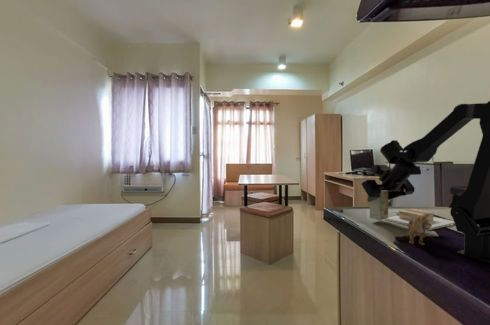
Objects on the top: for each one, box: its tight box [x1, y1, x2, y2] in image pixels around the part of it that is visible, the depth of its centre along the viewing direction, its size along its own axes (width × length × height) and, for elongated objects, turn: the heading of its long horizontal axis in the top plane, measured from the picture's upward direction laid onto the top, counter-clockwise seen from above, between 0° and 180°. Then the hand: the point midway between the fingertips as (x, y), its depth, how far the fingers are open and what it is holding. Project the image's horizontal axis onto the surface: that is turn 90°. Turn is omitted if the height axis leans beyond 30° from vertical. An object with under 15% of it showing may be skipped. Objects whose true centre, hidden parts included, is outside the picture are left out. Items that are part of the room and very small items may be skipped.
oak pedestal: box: [398, 208, 434, 222], centre depth 101 cm, size 8×8×3 cm
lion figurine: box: [407, 215, 432, 246], centre depth 79 cm, size 15×5×9 cm, turn 152°
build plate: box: [384, 215, 455, 231], centre depth 100 cm, size 18×16×1 cm
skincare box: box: [369, 191, 389, 221], centre depth 100 cm, size 6×4×12 cm
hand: (376, 200), depth 102 cm, fingers closed on skincare box, 7 cm apart
